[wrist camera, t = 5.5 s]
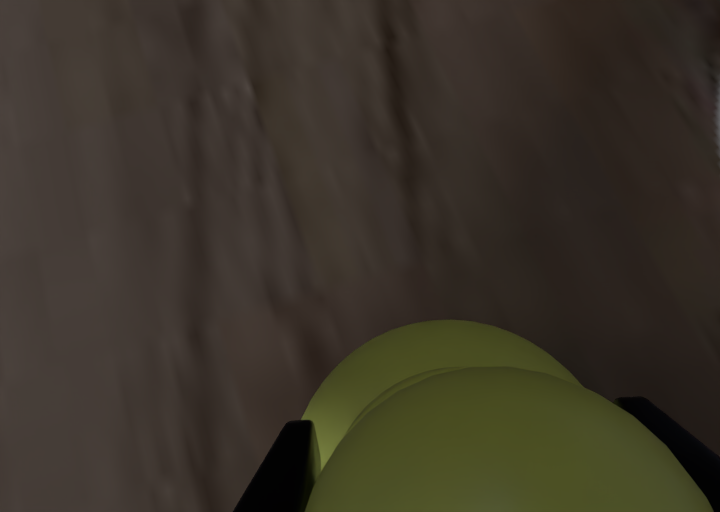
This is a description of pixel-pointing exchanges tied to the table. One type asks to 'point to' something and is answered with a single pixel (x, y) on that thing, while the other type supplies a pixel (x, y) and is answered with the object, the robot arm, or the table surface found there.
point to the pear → (481, 432)
